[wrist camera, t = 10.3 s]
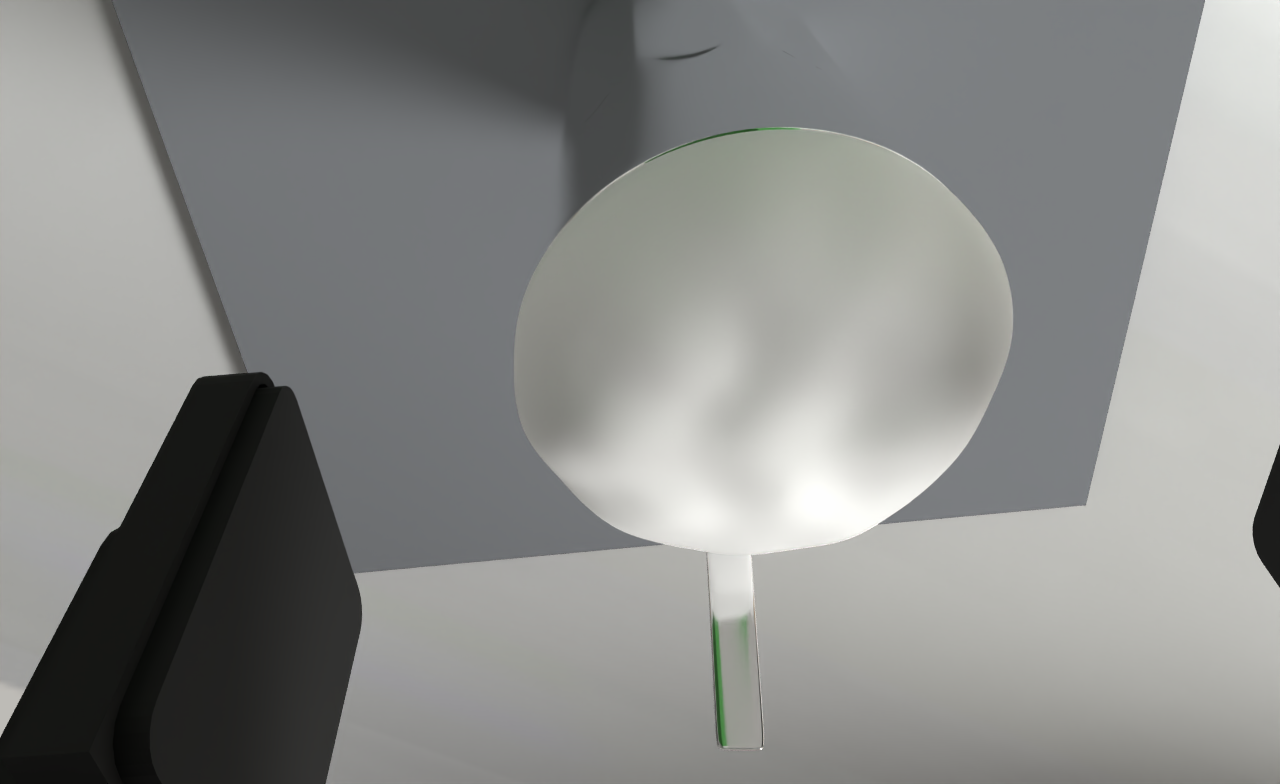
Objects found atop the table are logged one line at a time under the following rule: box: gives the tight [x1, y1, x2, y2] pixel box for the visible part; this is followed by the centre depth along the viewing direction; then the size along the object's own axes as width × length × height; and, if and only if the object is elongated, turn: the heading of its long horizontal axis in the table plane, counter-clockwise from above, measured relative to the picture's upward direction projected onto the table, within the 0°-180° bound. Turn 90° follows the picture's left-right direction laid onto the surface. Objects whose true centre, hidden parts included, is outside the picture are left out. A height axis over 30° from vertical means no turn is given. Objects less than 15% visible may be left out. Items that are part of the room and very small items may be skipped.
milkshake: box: [514, 0, 1013, 751], centre depth 13 cm, size 4×5×10 cm
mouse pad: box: [112, 0, 1205, 573], centre depth 17 cm, size 20×16×1 cm
